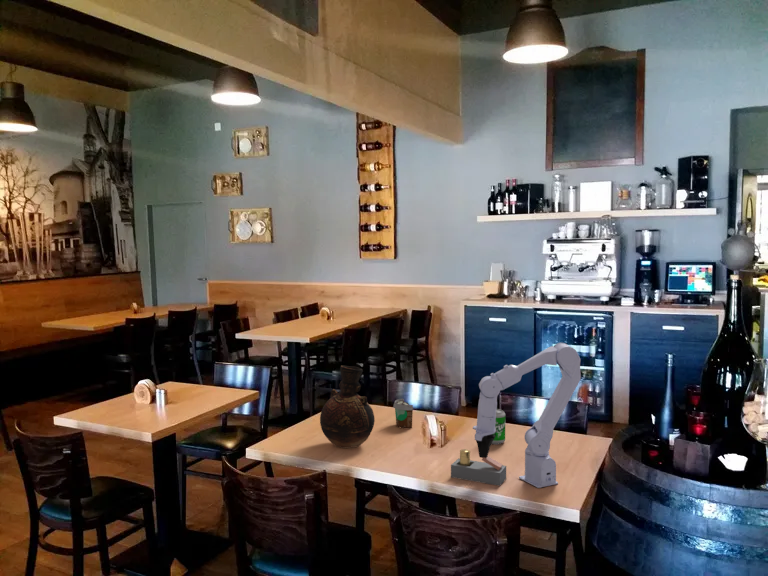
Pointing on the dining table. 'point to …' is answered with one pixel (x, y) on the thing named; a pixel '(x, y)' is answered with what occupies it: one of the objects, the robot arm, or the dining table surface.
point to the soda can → (499, 427)
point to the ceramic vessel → (347, 412)
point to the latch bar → (492, 462)
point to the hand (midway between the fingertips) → (483, 457)
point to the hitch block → (478, 472)
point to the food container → (403, 414)
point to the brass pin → (465, 457)
